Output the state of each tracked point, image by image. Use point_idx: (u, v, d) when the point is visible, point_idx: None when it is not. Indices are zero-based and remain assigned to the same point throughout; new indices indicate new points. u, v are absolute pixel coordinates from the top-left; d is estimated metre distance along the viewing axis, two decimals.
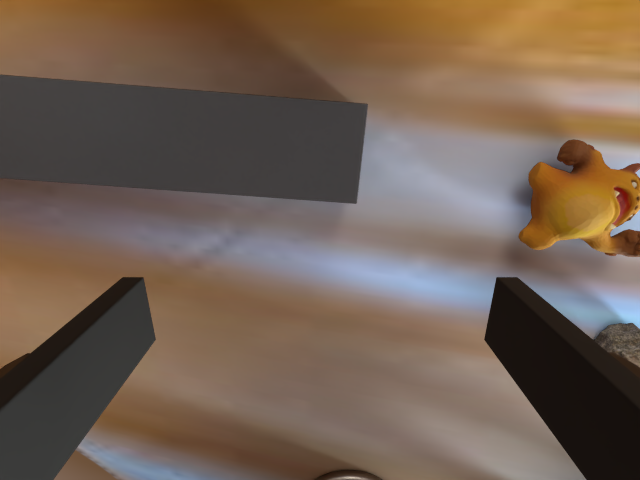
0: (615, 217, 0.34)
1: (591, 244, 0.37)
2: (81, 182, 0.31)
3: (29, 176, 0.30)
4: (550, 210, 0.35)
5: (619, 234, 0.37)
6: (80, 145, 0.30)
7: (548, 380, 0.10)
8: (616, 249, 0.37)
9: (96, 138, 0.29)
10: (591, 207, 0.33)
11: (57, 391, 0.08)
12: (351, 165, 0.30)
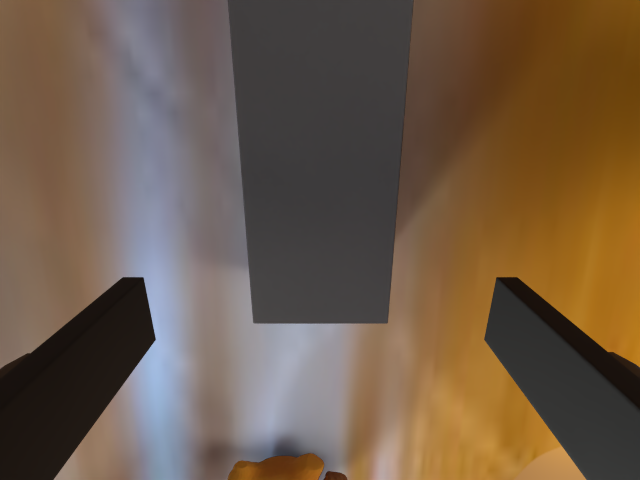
0: None
1: None
2: None
3: None
4: None
5: None
6: None
7: (548, 380, 0.10)
8: None
9: None
10: None
11: (57, 391, 0.08)
12: (307, 312, 0.21)
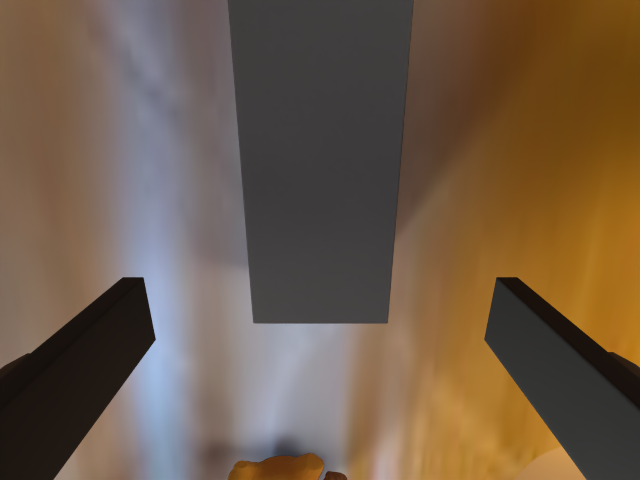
0: None
1: None
2: None
3: None
4: None
5: None
6: None
7: (548, 380, 0.10)
8: None
9: None
10: None
11: (57, 391, 0.08)
12: (307, 312, 0.21)
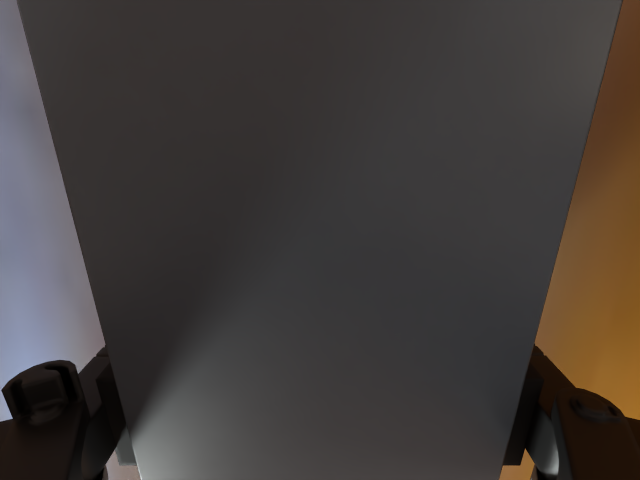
0: None
1: None
2: None
3: None
4: None
5: None
6: None
7: None
8: None
9: None
10: None
11: None
12: None
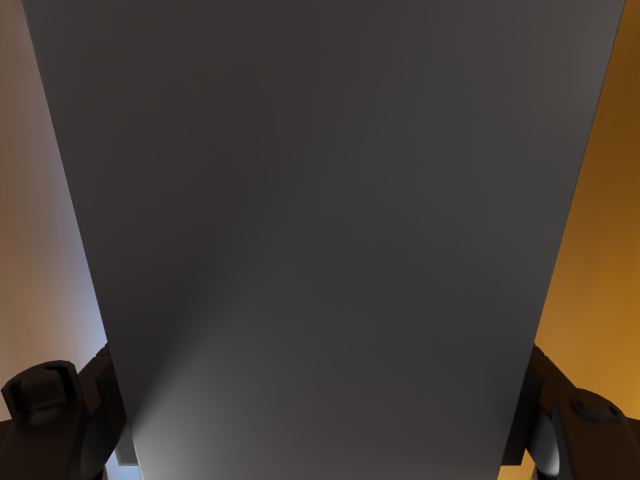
0: None
1: None
2: None
3: None
4: None
5: None
6: None
7: None
8: None
9: None
10: None
11: None
12: None
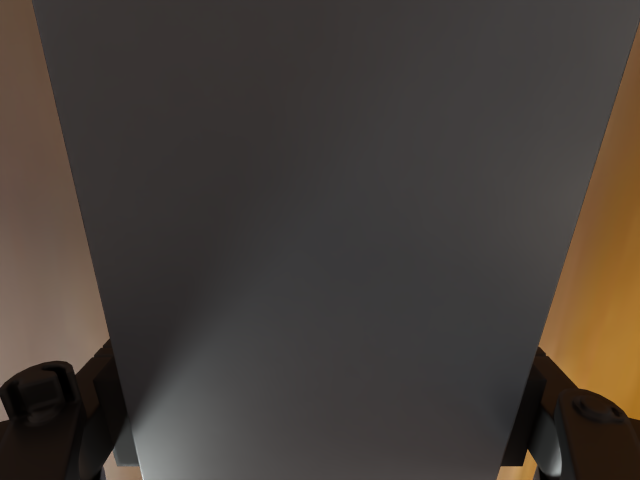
0: None
1: None
2: None
3: None
4: None
5: None
6: None
7: None
8: None
9: None
10: None
11: None
12: None
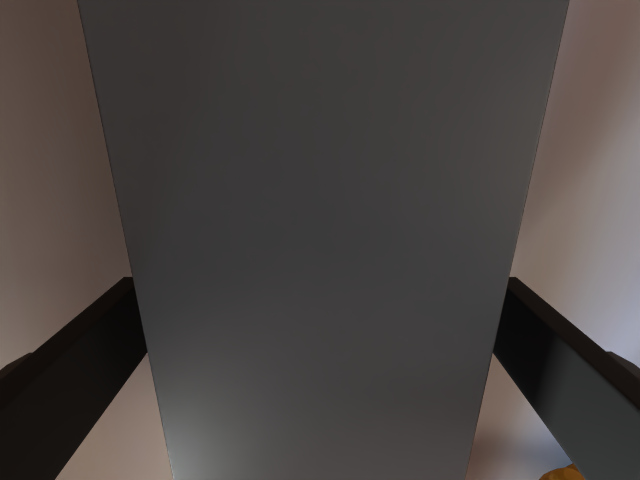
0: None
1: None
2: None
3: None
4: None
5: None
6: None
7: (546, 379, 0.10)
8: None
9: None
10: None
11: (60, 390, 0.08)
12: None
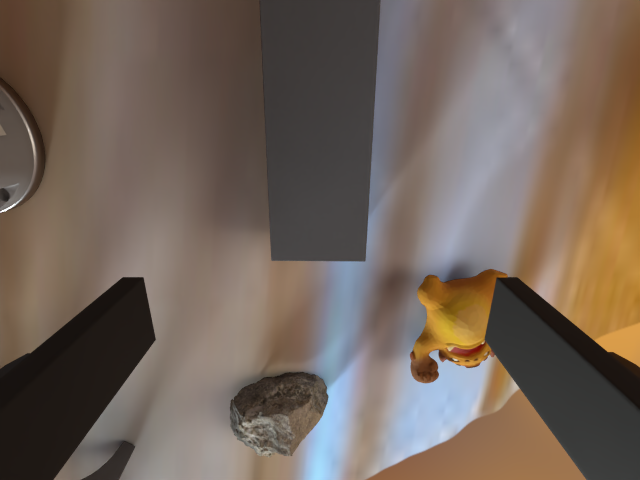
0: (464, 347, 0.37)
1: (423, 338, 0.39)
2: None
3: None
4: (466, 294, 0.36)
5: (430, 357, 0.40)
6: None
7: (548, 380, 0.10)
8: (421, 358, 0.39)
9: None
10: (479, 325, 0.35)
11: (57, 391, 0.08)
12: (309, 252, 0.31)
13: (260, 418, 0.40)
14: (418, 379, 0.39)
